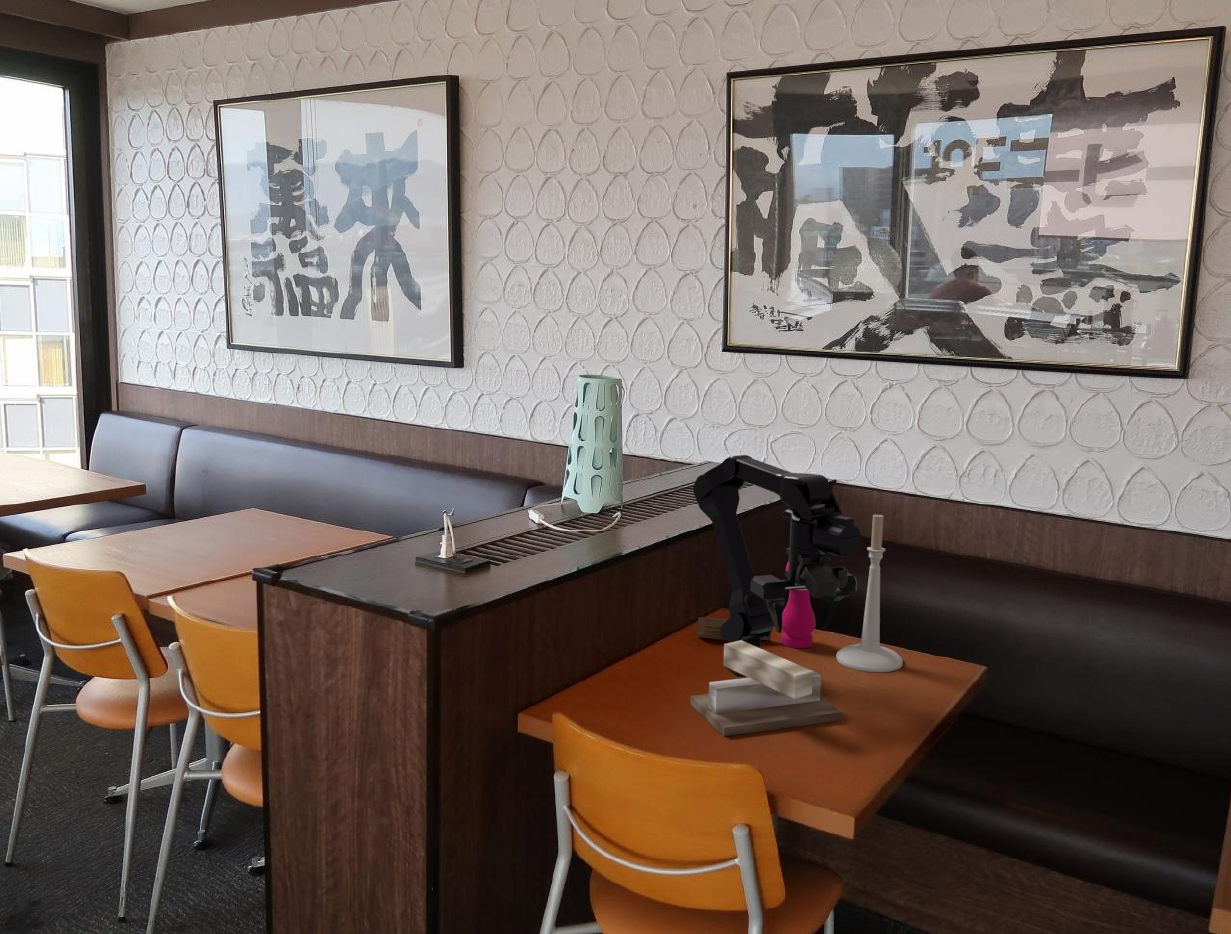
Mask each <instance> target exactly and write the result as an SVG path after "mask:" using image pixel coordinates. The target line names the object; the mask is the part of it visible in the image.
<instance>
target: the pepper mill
mask: <svg viewBox="0 0 1231 934" xmlns="http://www.w3.org/2000/svg"><path fill="white" fill-rule="evenodd" d="M788 569H789V561H788V562H787V564H786V566H785V570H788ZM795 585H796V584H795ZM788 591H789V595H788V600H787V603H786V605H785V607H784V609H783V610H782V630H783V631H784V632H782V634H781V643H782V644H783V646H785V645H786V647H788V648H793V649H807V648H810V647H812V646H813V638H814V637H813V635H812V633H813V632H814V631H815V629H816V623H817V622H816V616H815V613H814V611H813V608H812V605H811V598H810V597H811V595H810V593H809V591H808V590H807V589H797V590H788Z"/></svg>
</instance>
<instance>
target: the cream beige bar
mask: <svg viewBox="0 0 1231 934" xmlns="http://www.w3.org/2000/svg"><path fill="white" fill-rule="evenodd" d="M723 644H724V645H723V662H722V666H723V667H725V668H727V669H728V668H730V669H732V670H734V671H736V672H738V673H740V674H742V675H741V676H745V677H746V678H751V679H753V680H755V681H757V682H759V683H761V684H764V685H766V686H768V687H770V688H772V689H774V690H776V691H778V692H780V693H783V694H785V695H787V696H789V697H791V698H793V699H796V698H800V697H803V696H807V695H810V694H812V681H813V671H814V670H813V671H811V670H812V669H809V668H808V667H807V668H806V667H804V666H801V665H800V664H797V663H795V662H793V661H790V660H788V659H786V658H783V657H781V656H778V655H776V654H774V653H772V652H769V651H767V650H765V649H762V648H761V647H760V648H758V647H756V646H753V645H751V644H749V643H746V642H744V641H742V640H740V641H736V642H728V643H727V642H726V643H723Z"/></svg>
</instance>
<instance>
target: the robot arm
mask: <svg viewBox="0 0 1231 934" xmlns="http://www.w3.org/2000/svg"><path fill="white" fill-rule="evenodd" d="M746 483H748V484H752V485H753V486H756V487H759V488H762V489H764V490H767V491H769V492H771V493H774V494H776V495H777V496H779V498H780V501H781V502H782V503H784V504H786V505H787V506H788V508H787V509H786V510H784V511H783V512H781V513H782V514H781V515H782V516H781V517H783V518H787V519H790V529H789V531H790V533H789V547H786V548H785V555H788V562H789V569H788V570H786V569H785V570H784V577H786V578H787V579H780V578H778V577H776V576H774V575H772V574H765V575H755V573H754V570H753V566H752V562H751V559H750V556H749V552H748V549H747V545H746V542H745V538H744V535H743V532H742V529H741V525H740V522H739V519H738V514H737V511H738V508H739V503H740V499H741V498H740V492H739V490H741V489H742V488H743V487H744V486H745V485H746ZM692 487H693V489H692V491H693V495H694V497H695V500H696V502H697V504H698V507H699V509H700V511H702V512H703V513H704V514H705V516H706V517H707V518H708V519H710V520H711V523H712V527H713V530H714V534H715V538H716V540H717V544H718V547H719V550H720V555H721V558H722V561H723V565H724V569H725V571H726V575H727V578H728V582H729V586H730V589H731V596H730V599H729V604H728V612H729V619H728V620H727V621H726V622H725V623H724V624H723V625H722V626H721V627H720V632H721V637H722V639H721V640H724V641H727V642H728V643H731V642H736V641H740V640H742V641H744V642H746V643H749V644H751V645H753V646H756V647H758V648H760V649H761V638H765V637H770V635H771V634H772V631H773V629H774V628H775V631H776V632H777V633H778V634H779V633H780V634H781V633H782V630H783V629H782V613H783V608H784V607H783V606H784V605H785V603H786V601H787V599H785V598H784V595H785V594H786V592H787V591H789V590H797V589H807V590H808V591H809V593H810V594H809V595H810V597H813V598H815V599H820V601H819V602H820V623H821V627H822V628H823V629H827V627H828V626H829V623H830V620H831V618H832V616H833V615H834V611H835V610H836V608H837V606H838V604H839V603H840V601H841V600H843V599H844V598H845V597H849V596H850V595H851V593H854V592H857V591H858V590H857V588H858V587H857V586H858V580H857V578H856V576H855V575H854V574H852V573H849V572H848V569H847V568H846V567H845V566H844V565H841V566H828V563H827V555H826V553H828V554H831V555H834V556H838V557H841V558H845V559H851V558H853V557H854V556H855V555H856V554H857V553H858V552H859V550H860V547H861V545H862V539H863V537H862V535H861V532H860V530H859V528H858V526H856V525H855V519H854V518H853V517H850V516H842V515H843V512H842V509H841V507H840V505H839V503H838V501H837V498H836V497H835V494H834V491H833V490H832V487H831V485H830V482H829V479H828V478H827V477H826V476H824V475H822V474H817V473H816V474H814V473H806V472H801V473H800V472H791V471H788V470H785V469H783V468H780V467H777V466H774V465H771V464H768V463H766V462H765V461H761V460H758V459H755V458H752V456H750V455H747V454H740V455H738V454H737V455H731V456H728V457H727V458H725V459H723V461H722V462H721V463H720V464H718V465H715V466H714V467H712V468H711V469H709V470H707V471H706V472H704V473H703V474H701V475H699V476H697V477H696V479H695V482H694V483H693V486H692ZM795 584H796V585H795ZM727 669H728V670H730V672H732V673H733V674H735V675H736V676H743V675H742V674H740V673H738V672H736V671H734V670H732V669H730V668H727Z"/></svg>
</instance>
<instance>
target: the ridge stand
mask: <svg viewBox="0 0 1231 934" xmlns="http://www.w3.org/2000/svg"><path fill="white" fill-rule="evenodd" d="M810 670H811V671H813V681H812V694H810V695H807V696H803V697H800V698H796V699H793V698H791V697H789V696H787V695H785V694H783V693H780V692H778V691H776V690H774V689H772V688H770V687H768V686H766V685H764V684H761V683H759V682H757V681H755V680H753V679H751V678H749V677H745V678H744V677H743V678H734V679H725V680H717V681H710V682H708V684H709V685H708V693H704V694H695V695H690V697H689V704H690V706H691V707H692V708H693V709H695V710H696V711H697V712H698V713H699V714H700V715H701V716H702V717H703V718H704V719H705V720H706V721H707V722H708V723H709V724H711V726H712V727H713V728H715V730H716V731H717V732H719V733H720V735H721V736H722V737H729V736H738V735H744V734H752V733H758V732H765V731H773V730H781V729H788V728H795V727H802V726H809V725H810V726H811V725H817V724H823V723H824V724H825V723H832V722H838V721H842V711H841V710H840V709H838V708H837V707H836V706H834V705H833V704H831V703H830V702H829V701H827V700H825V699H824V698H823V697H821V686H822V685H821V684H822V676H821V675H820V674H819V673H817V672H816V671H815V670H812V669H810Z"/></svg>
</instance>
